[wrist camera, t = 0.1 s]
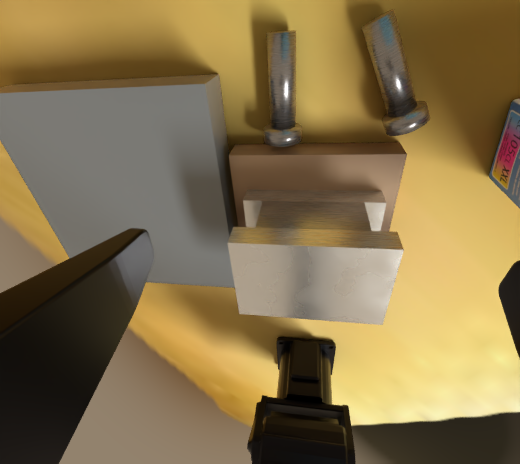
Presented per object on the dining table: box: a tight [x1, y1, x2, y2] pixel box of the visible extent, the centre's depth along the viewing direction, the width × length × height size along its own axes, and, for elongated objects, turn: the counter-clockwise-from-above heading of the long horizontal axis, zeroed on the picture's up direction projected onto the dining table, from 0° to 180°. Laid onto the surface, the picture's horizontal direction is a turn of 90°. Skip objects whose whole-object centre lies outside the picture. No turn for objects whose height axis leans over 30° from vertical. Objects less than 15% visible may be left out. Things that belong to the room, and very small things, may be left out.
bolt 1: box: [263, 30, 302, 147], centre depth 18 cm, size 6×2×2 cm, turn 4°
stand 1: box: [0, 74, 238, 288], centre depth 23 cm, size 16×15×3 cm
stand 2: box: [229, 142, 407, 232], centre depth 23 cm, size 11×11×2 cm
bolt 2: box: [362, 10, 430, 136], centre depth 16 cm, size 6×2×2 cm, turn 29°
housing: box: [228, 190, 404, 325], centre depth 20 cm, size 6×9×6 cm, turn 94°
